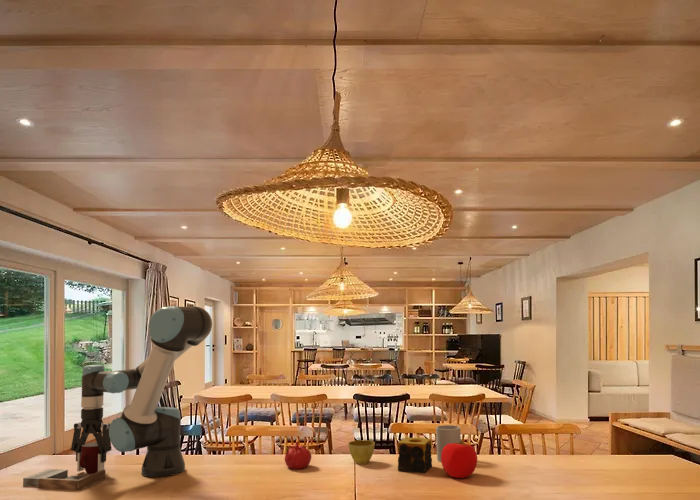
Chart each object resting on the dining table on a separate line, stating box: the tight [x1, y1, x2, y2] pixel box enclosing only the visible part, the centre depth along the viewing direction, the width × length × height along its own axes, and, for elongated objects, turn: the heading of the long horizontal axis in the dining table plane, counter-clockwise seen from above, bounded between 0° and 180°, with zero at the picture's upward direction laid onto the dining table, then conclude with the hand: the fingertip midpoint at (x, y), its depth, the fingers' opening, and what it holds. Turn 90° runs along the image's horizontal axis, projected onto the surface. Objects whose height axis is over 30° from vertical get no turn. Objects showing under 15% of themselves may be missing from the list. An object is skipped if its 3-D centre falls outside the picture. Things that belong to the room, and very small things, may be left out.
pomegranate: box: [283, 441, 313, 470], centre depth 220 cm, size 10×10×9 cm
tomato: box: [441, 440, 478, 479], centre depth 203 cm, size 12×14×11 cm
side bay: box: [22, 468, 106, 491], centre depth 206 cm, size 23×14×3 cm, turn 76°
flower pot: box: [347, 439, 376, 465], centre depth 224 cm, size 10×10×7 cm
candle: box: [397, 436, 433, 474], centre depth 214 cm, size 10×10×10 cm
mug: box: [79, 441, 100, 475], centre depth 217 cm, size 10×8×10 cm
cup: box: [435, 424, 462, 463], centre depth 226 cm, size 9×9×12 cm
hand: (90, 471), depth 217 cm, fingers closed on mug, 8 cm apart
